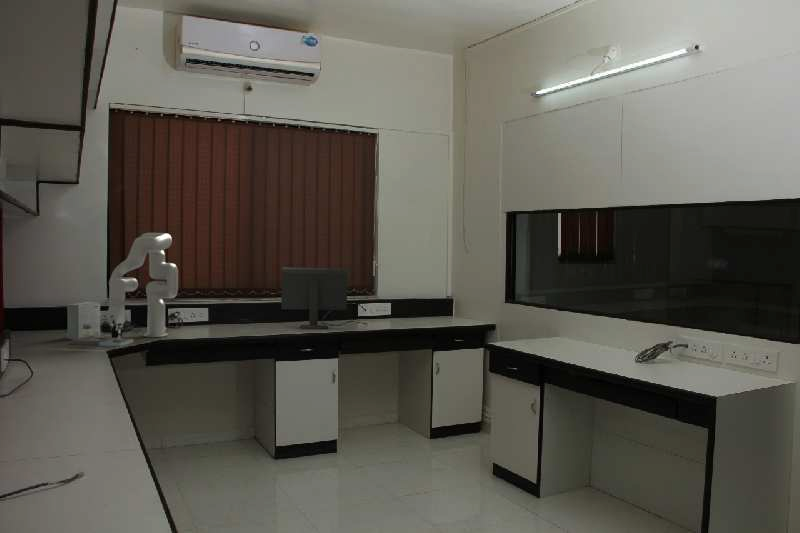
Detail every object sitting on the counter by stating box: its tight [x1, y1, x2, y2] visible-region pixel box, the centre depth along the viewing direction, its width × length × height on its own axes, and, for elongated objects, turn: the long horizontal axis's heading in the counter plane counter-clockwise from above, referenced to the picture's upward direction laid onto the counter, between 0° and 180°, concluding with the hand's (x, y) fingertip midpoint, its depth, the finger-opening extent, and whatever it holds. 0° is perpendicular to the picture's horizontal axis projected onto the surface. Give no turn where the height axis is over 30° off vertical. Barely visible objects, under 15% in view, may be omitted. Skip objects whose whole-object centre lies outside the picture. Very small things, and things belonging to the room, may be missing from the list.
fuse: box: [83, 325, 91, 339], centre depth 326 cm, size 4×4×9 cm
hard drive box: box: [67, 301, 101, 340], centre depth 341 cm, size 16×8×20 cm, turn 160°
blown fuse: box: [112, 324, 122, 343], centre depth 323 cm, size 4×4×9 cm
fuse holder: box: [70, 334, 113, 346], centre depth 326 cm, size 16×15×4 cm
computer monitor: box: [280, 266, 349, 330], centre depth 417 cm, size 44×16×40 cm, turn 94°
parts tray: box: [98, 338, 134, 347], centre depth 323 cm, size 14×11×2 cm
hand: (116, 336), depth 323 cm, fingers closed on blown fuse, 3 cm apart
